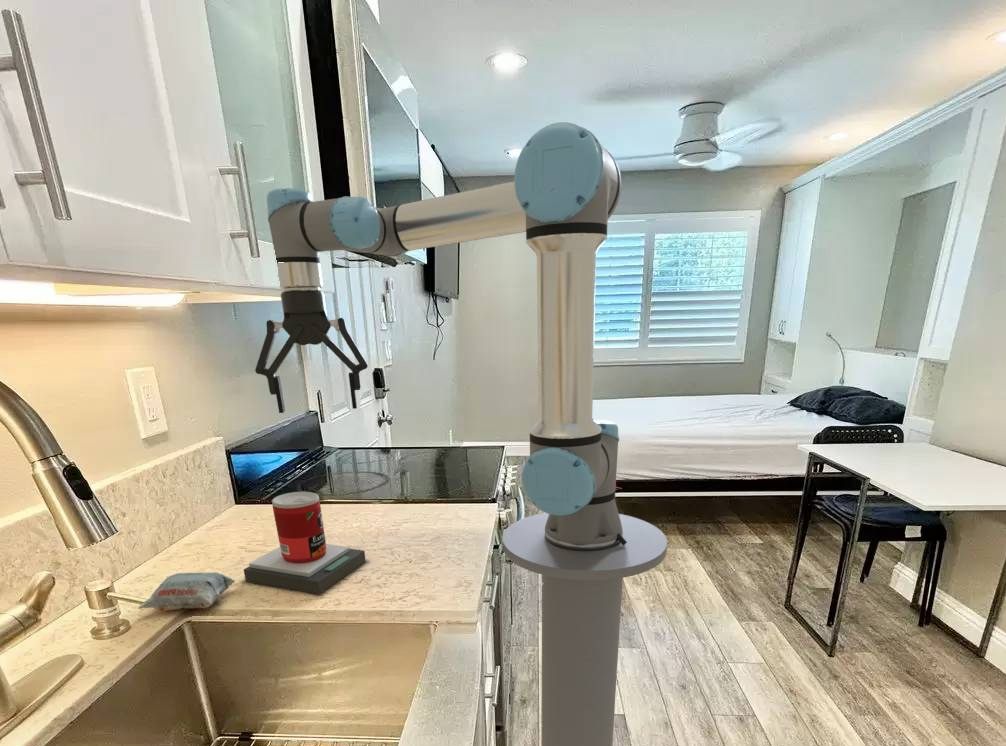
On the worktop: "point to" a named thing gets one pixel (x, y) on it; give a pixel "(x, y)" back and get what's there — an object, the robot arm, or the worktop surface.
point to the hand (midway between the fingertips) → (319, 409)
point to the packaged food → (188, 591)
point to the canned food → (299, 526)
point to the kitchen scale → (305, 569)
